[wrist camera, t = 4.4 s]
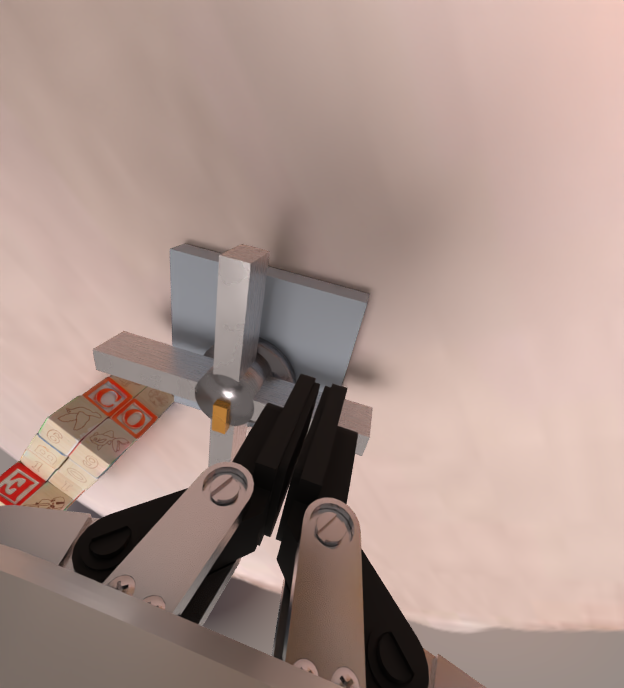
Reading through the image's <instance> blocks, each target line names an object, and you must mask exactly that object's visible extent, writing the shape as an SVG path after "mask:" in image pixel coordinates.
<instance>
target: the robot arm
mask: <svg viewBox="0 0 624 688" xmlns="http://www.w3.org/2000/svg"><path fill="white" fill-rule="evenodd" d="M315 381H316V378H314V377H311V376H308V375H305V374H300V376H299V378H298V380H297V382H296V384H295V386H294V388H293V389H292V391H291V393H290V395H289V397H288V399H287V401H286V403H285V405H284V407H280V406H277V405H274V404H271V403H267V404H266V405H265V407H264V409H263V410H262V412H261V414H260V415H259V417H258V419H257V420H256V422H255V424H254V425H253V427H252V429H251V430H250V432H249V434H248V436H247V437H246V439H245V441H244V442H243V444H242V446H241V447H240V449H239V451H238V452H237V454H236V456H235V457H234V459H233V461H232V462H221V463H216V464H214V465H212V466H210V467H208V468H207V469H206V470H205V471H204V472H202V473H201V475H200V476H199V477H198V478H197V479H196V480H195V481H194V482H193V483H192V484H191V486H190V487H189V488H187V489H184V490H181V491H178V492H175V493H172V494H169V495H166V496H163V497H160V498H157V499H154V500H151V501H148V502H145V503H142V504H139V505H136V506H133V507H130V508H127V509H124V510H121V511H118V512H115V513H112V514H109V515H107V516H105V517H103V518H101V519H98V518H91V514H88V513H78V512H70V511H62V510H53V509H45V508H36V507H28V506H19V505H2V506H0V688H486V687H484V686H483V685H482V684H480V683H479V682H477V681H476V680H475V679H473V678H472V677H470V676H469V675H467V674H466V673H465V672H463V671H462V670H460V669H459V668H458V667H456V666H455V665H453V664H452V663H450V662H449V661H448V660H446V659H445V658H443V657H442V656H441V655H439V654H438V655H437V656H433V655H432V654H431V653H429V652H428V651H426V650H425V649H424V648H422V646H421V644H420V642H419V640H418V638H417V636H416V635H415V633H414V631H413V630H412V628H411V627H410V625H409V623H408V622H407V620H406V619H405V617H404V615H403V614H402V612H401V611H400V609H399V607H398V606H397V604H396V603H395V601H394V600H393V598H392V596H391V595H390V593H389V592H388V590H387V588H386V587H385V585H384V584H383V582H382V580H381V579H380V577H379V576H378V574H377V573H376V571H375V569H374V568H373V566H372V565H371V563H370V561H369V560H368V558H367V557H366V555H365V553H364V552H363V550H362V549H361V530H360V525H359V521H358V519H357V517H356V515H355V513H354V512H353V511H352V510H351V508H350V507H349V506H348V505H346V504H347V498H348V492H349V486H350V480H351V474H352V469H353V463H354V457H355V451H356V445H357V439H358V432H355V431H352V430H349V429H346V428H343V427H340V426H338V423H339V419H340V415H341V411H342V407H343V403H344V399H345V396H346V392H347V388H346V387H342V386H339V385H336V384H333V383H332V386H331V387H328V386H325V387H324V390H323V393H322V395H321V398H320V401H319V404H318V406H317V409H316V412H315V414H314V417H313V420H312V423H311V425H310V422H311V418H312V414H313V411H314V407H315V403H316V399H317V396H318V392H319V388H320V384H319V383H316V382H315ZM309 425H310V428H309ZM308 429H309V431H308ZM289 485H290V486H289ZM288 488H289V490H288ZM287 490H288V494H287V498H286V501H285V505H284V509H283V513H282V517H281V521H280V525H279V528H278V532H277V536H276V540H279V541H282V542H281V545H280V549H279V552H278V556H277V562H278V564H279V566H280V569H281V571H282V573H283V576H284V580H283V586H282V592H281V599H280V605H279V612H278V618H277V625H276V631H275V638H274V644H273V650H272V656H270V655H268V654H266V653H263V652H261V651H258V650H256V649H254V648H252V647H249V646H247V645H244V644H242V643H240V642H238V641H235V640H233V639H231V638H228V637H226V636H224V635H221V634H219V633H217V632H214V631H212V630H210V629H207V628H205V627H203V624H204V622H205V621H206V619H207V617H208V615H209V614H210V612H211V610H212V609H213V607H214V605H215V604H216V602H217V600H218V598H219V597H220V595H221V593H222V592H223V590H224V588H225V587H226V585H227V583H228V581H229V580H230V578H231V576H232V575H233V573H234V571H235V569H236V568H237V566H238V564H239V562H240V560H241V557H243V556H246V555H248V554H250V553H252V552H254V551H255V549H256V547H257V545H259V546H260V544H261V541H262V539H263V536H264V535H266V536H269V537H271V534H272V532H273V529H274V526H275V523H276V521H277V518H278V515H279V512H280V510H281V507H282V504H283V501H284V499H285V496H286V493H287Z"/></svg>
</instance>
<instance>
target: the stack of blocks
mask: <svg viewBox="0 0 624 688" xmlns="http://www.w3.org/2000/svg"><path fill="white" fill-rule="evenodd" d="M173 403H174V397H173V396H172V395H171V394H169V393H166V392H163V391H160V390H157V389H154V388H151V387H148V386H145V385H141V384H138V383H135V382H132V381H129V380H126V379H123V378H120V377H117V376H114V375H111V376H109V377H107V378H105V379H104V380H102V381H101V382H99V383H98V384H97V385H95V386H94V387H92V388H91V389H90V390H88V391H87V392H85V393H84V394H83V395H82V396H78V397H76V398H74V399H73V400H72V401H70V402H69V403H67V404H66V405H64V406H63V407H62V408H60V409H59V410H57V411H56V412H54V413H53V414H52V415H50V416H49V417H48V418H47V419H46V420H45V422H44V424H43V425H42V427H41V428H40V430H39V432H38V433H37V434H36V435H35V437H34V438H33V440H32V441H31V443H30V445H29V446H28V448H27V449H26V450H25V452H24V454H23V455H22V457H21V459H20V461H18V462H17V463H16V464H14V465H13V466H12V467H11V468H9V469H8V470H7V471H6V472H4V473H3V474H2V475H1V476H0V506H2V505H19V506H28V507H36V508H45V509H53V510H62V511H66V510H67V509H68V507H70V506H71V505H72V503H74V501H75V500H76V499H77V498H78V497H79V496H80V495H81V494H82V493H83V492H84V491H85V490H87V489H89V488H90V487H91V486H92V485H93V484H94V483H95V482H96V481H97V480H98V479H99V478H100V477H101V476H102V475H103V474H104V473H105V472H106V471H107V470H108V469H109V468H110V467H111V466H112V465H113V464H114V463H115V461H116V460H117V459H118V458H119V457H120V456H121V455H122V454H123V453H124V452H125V451H126V450H127V449H128V448H129V447H130V446H131V445H132V444H133V443H134V442H135V441H137V440H138V439H139V438H140V437H141V436H142V435H143V434H144V433H145V432H146V431H147V430H148V429H149V428H150V426H151V425H152V424H153V423H154V422H155V421H156V420H157V419H158V418H159V417H160V416H161V415H162V414H163V413H164V412H165V411H166V410H167V409H168V408H169V407H170V405H171V404H173Z"/></svg>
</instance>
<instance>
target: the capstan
mask: <svg viewBox="0 0 624 688" xmlns="http://www.w3.org/2000/svg"><path fill="white" fill-rule="evenodd" d="M269 255H270V251H267V250H263V249H259V248H256V247H252V246H248V245H244V244H241V245H239V246H237V247H235V248H233V249H231V250H228V251H226V252H224V253H222V254H220V255H219V266H218V286H217V306H216V326H215V344H213V345H212V346H211V347H210V348H209V349H208V350H207V351H206V352H205V354H204V355H200V354H197V353H193V352H190V351H187V350H184V349H180V348H177V347H174V346H171V345H167V344H164V343H161V342H158V341H154V340H151V339H148V338H145V337H141V336H138V335H135V334H132V333H128V332H125V331H123V332H121V333H120V334H118V335H116V336H114V337H113V338H111V339H109V340H108V341H106V342H104V343H103V344H101V345H99V346H97V347H96V348H94V349H93V354H94V360H95V365H96V370H98V371H101V372H104V373H108V374H111V375H114V376H117V377H120V378H123V379H126V380H129V381H132V382H135V383H138V384H141V385H145V386H148V387H151V388H154V389H157V390H160V391H163V392H166V393H169V394H172V395H175V396H178V397H182V398H185V399H188V400H191V401H194V402H197V404H198V405H199V407H200V409H201V410H202V411H203V412H204V413H205V414H206V415H207V416H208V417H209V418H211V426H210V446H209V466H208V467H210V466H212V465H214V464H216V463H221V462H232V461H233V459H234V457H235V456H236V454H237V452H238V451H239V449H240V447H241V446H242V444H243V442H244V441H245V439H246V431H247V423H248V422H251V423H255V422H256V420H257V419H258V417H259V415H260V414H261V412H262V410H263V409H264V407H265V405H266V404H267V403H271V404H274V405H277V406H280V407H284V405H285V403H286V401H287V399H288V397H289V395H290V393H291V391H292V389H293V388H294V386H295V384H296V375H295V372H294V369H293V367H292V365H291V363H290V361H289V360H288V358H287V357H286V356H285V354H284V353H283V352H282V351H281V350H280V349H279V348H277V347H276V346H275V345H274V344H272V343H271V342H269V341H267V340H265V339H263V338H261V337H259V332H260V324H261V316H262V309H263V301H264V293H265V286H266V278H267V270H268V263H269ZM322 393H323V392H320V391H319V392H318V396H317V399H316V403H315V407H314V411H313V414H312V418H311V422H310V425H311V423H312V420H313V417H314V414H315V412H316V409H317V406H318V404H319V401H320V398H321V395H322ZM372 409H373V408H372V407H369V406H365V405H362V404H359V403H356V402H352V401H349V400H346V399H344V403H343V407H342V411H341V415H340V419H339V423H338V426H340V427H343V428H346V429H349V430H352V431H355V432H358V439H357V445H356V451H355V454H357V455H360V456H362V455H363V452H364V450H365V448H366V445H367V443H368V440H369V438H370V429H371V419H372ZM310 425H309V428H310ZM308 431H309V429H308Z"/></svg>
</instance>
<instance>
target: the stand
mask: <svg viewBox="0 0 624 688" xmlns="http://www.w3.org/2000/svg"><path fill="white" fill-rule="evenodd" d="M220 254H221V253H218V252H214V251H210V250H207V249H203V248H199V247H196V246H192V245H188V244H182V245H179V246H177V247H174V248H171V249H170V275H171V310H172V345H173V346H174V347H177V348H180V349H184V350H187V351H190V352H193V353H197V354H200V355H204V354H205V352H206V351H207V350H208V349H209V348H210V347H211V346H212V345H213V344H215V326H216V306H217V286H218V266H219V255H220ZM368 298H369V294H368V293H364V292H361V291H357V290H353V289H350V288H346V287H342V286H339V285H335V284H331V283H328V282H324V281H320V280H317V279H313V278H309V277H306V276H302V275H298V274H295V273H291V272H287V271H284V270H280V269H276V268H273V267H269V266H268V270H267V278H266V286H265V293H264V301H263V309H262V316H261V324H260V332H259V337H261V338H263V339H265V340H267V341H269V342H271V343H272V344H274V345H275V346H276V347H277V348H279V349H280V350H281V351H282V352H283V353H284V354H285V356H286V357H287V358H288V360H289V361H290V363H291V365H292V367H293V369H294V372H295V375H296V382H297V380H298V378H299V376H300V374H305V375H308V376H311V377H314V378H316V381H315V382H316V383H319V384H320V388H319V391H320V392H323V390H324V387H325V386H328V387H331V386H332V383H333V384H336V385H339V386H342V383H343V380H344V377H345V373H346V370H347V367H348V364H349V361H350V357H351V354H352V351H353V348H354V345H355V341H356V338H357V335H358V332H359V329H360V325H361V322H362V319H363V316H364V313H365V309H366V306H367V303H368ZM174 402H177V403H180V404H183V405H186V406H190V407H193V408H196V409H199V410H201V409H200V407H199V405H198V404H197V402H194V401H191V400H188V399H185V398H182V397H178V396H175V395H174ZM254 424H255V423H251V422H248V423H247V426H248V427H250V426H251V427H253V425H254Z"/></svg>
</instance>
